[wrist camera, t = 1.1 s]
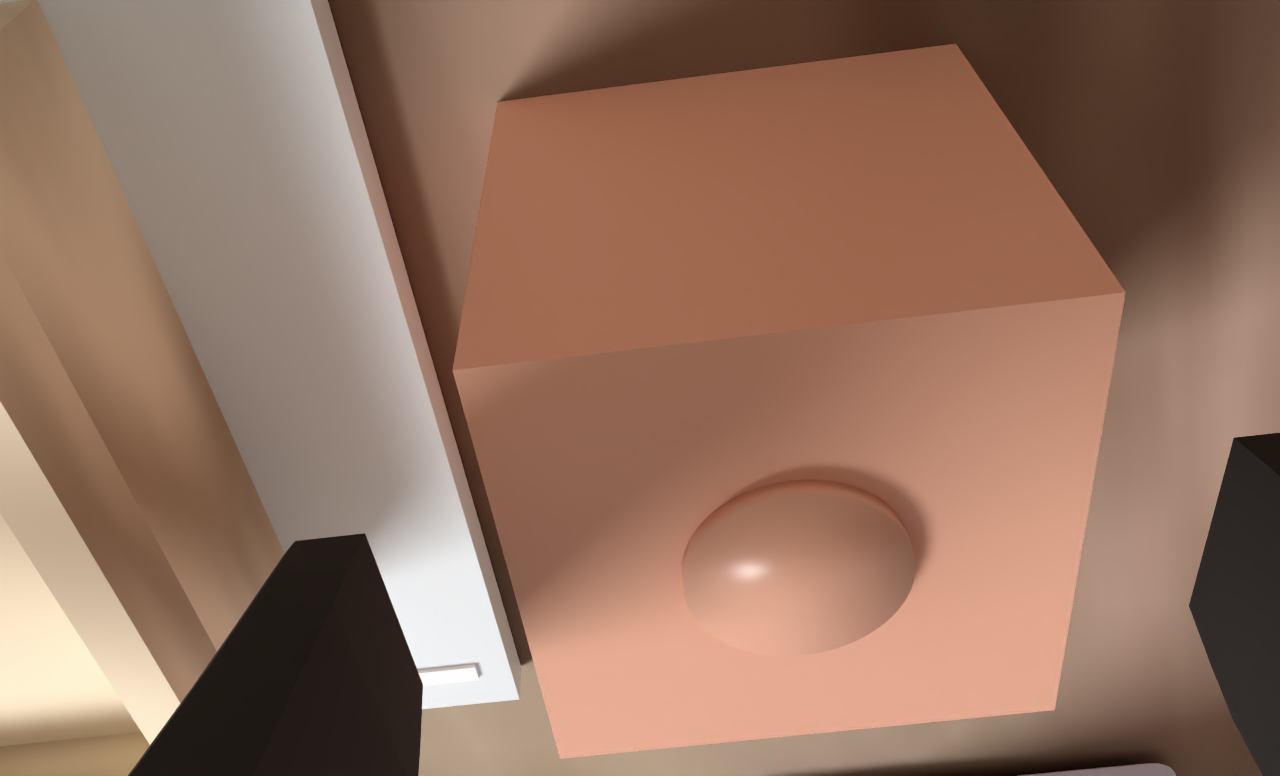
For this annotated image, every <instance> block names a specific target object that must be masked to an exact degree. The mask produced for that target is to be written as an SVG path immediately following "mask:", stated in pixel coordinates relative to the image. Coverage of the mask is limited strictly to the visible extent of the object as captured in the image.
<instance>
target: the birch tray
mask: <svg viewBox="0 0 1280 776" xmlns="http://www.w3.org/2000/svg"><path fill="white" fill-rule="evenodd" d="M284 554H285V553H284V551H283V549H282V546H281V544H280V542H279V540H278V537H277V535H276V533H275V531H274V528H273V526H272V524H271V522H270V520H269V517H268V515H267V513H266V511H265V508H264V506H263V504H262V502H261V499H260V497H259V495H258V493H257V490H256V488H255V486H254V484H253V481H252V479H251V477H250V475H249V473H248V470H247V468H246V466H245V464H244V461H243V459H242V457H241V455H240V452H239V450H238V448H237V446H236V443H235V441H234V439H233V437H232V434H231V432H230V430H229V428H228V426H227V423H226V421H225V419H224V417H223V414H222V412H221V410H220V408H219V405H218V403H217V401H216V399H215V396H214V394H213V392H212V390H211V387H210V385H209V383H208V381H207V379H206V376H205V374H204V372H203V370H202V367H201V365H200V363H199V361H198V358H197V356H196V354H195V352H194V349H193V347H192V345H191V343H190V340H189V338H188V336H187V334H186V332H185V329H184V327H183V325H182V323H181V320H180V318H179V316H178V314H177V311H176V309H175V307H174V305H173V302H172V300H171V298H170V296H169V294H168V291H167V289H166V287H165V285H164V282H163V280H162V278H161V276H160V273H159V271H158V269H157V267H156V264H155V262H154V260H153V258H152V255H151V253H150V251H149V249H148V247H147V244H146V242H145V240H144V238H143V235H142V233H141V231H140V229H139V226H138V224H137V222H136V220H135V217H134V215H133V213H132V211H131V208H130V206H129V204H128V202H127V200H126V197H125V195H124V193H123V191H122V188H121V186H120V184H119V182H118V179H117V177H116V175H115V173H114V170H113V168H112V166H111V164H110V161H109V159H108V157H107V155H106V153H105V150H104V148H103V146H102V144H101V141H100V139H99V137H98V135H97V132H96V130H95V128H94V126H93V123H92V121H91V119H90V117H89V115H88V112H87V110H86V108H85V106H84V103H83V101H82V99H81V97H80V94H79V92H78V90H77V88H76V85H75V83H74V81H73V79H72V76H71V74H70V72H69V70H68V68H67V65H66V63H65V61H64V59H63V56H62V54H61V52H60V50H59V47H58V45H57V43H56V41H55V38H54V36H53V34H52V32H51V29H50V27H49V25H48V23H47V21H46V18H45V16H44V14H43V12H42V9H41V7H40V5H39V3H38V0H22V1H15V2H7V3H0V776H128V774H129V773H130V772H131V771H132V769H133V768H134V767H135V765H136V764H137V762H138V761H139V760H140V758H141V757H142V756H143V754H144V753H145V751H146V750H147V749H148V747H149V746H150V745H151V743H152V742H153V740H154V739H155V738H156V736H157V735H158V734H159V732H160V731H161V729H162V728H163V727H164V725H165V724H166V723H167V721H168V720H169V719H170V717H171V716H172V714H173V713H174V712H175V710H176V709H177V708H178V706H179V705H180V703H181V702H182V701H183V699H184V698H185V697H186V695H187V694H188V692H189V691H190V690H191V688H192V687H193V685H194V684H195V683H196V681H197V680H198V678H199V677H200V675H201V674H202V673H203V671H204V670H205V668H206V667H207V665H208V664H209V663H210V661H211V660H212V658H213V657H214V655H215V654H216V653H217V651H218V650H219V648H220V647H221V645H222V644H223V642H224V641H225V640H226V638H227V637H228V635H229V634H230V632H231V631H232V629H233V628H234V627H235V625H236V624H237V622H238V621H239V619H240V618H241V616H242V615H243V613H244V612H245V610H246V609H247V608H248V606H249V605H250V603H251V602H252V600H253V599H254V597H255V596H256V594H257V593H258V591H259V590H260V589H261V587H262V586H263V584H264V583H265V581H266V580H267V578H268V577H269V575H270V574H271V573H272V571H273V570H274V568H275V567H276V565H277V564H278V563H279V561H280V560H281V558H282V557H283V555H284Z"/></svg>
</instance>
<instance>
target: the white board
mask: <svg viewBox="0 0 1280 776" xmlns="http://www.w3.org/2000/svg"><path fill="white" fill-rule="evenodd" d="M15 1H22V0H0V3H7V2H15ZM38 3H39V5H40V7H41V9H42V12H43V14H44V16H45V18H46V21H47V23H48V25H49V27H50V29H51V32H52V34H53V36H54V38H55V41H56V43H57V45H58V47H59V50H60V52H61V54H62V56H63V59H64V61H65V63H66V65H67V68H68V70H69V72H70V74H71V76H72V79H73V81H74V83H75V85H76V88H77V90H78V92H79V94H80V97H81V99H82V101H83V103H84V106H85V108H86V110H87V112H88V115H89V117H90V119H91V121H92V123H93V126H94V128H95V130H96V132H97V135H98V137H99V139H100V141H101V144H102V146H103V148H104V150H105V153H106V155H107V157H108V159H109V161H110V164H111V166H112V168H113V170H114V173H115V175H116V177H117V179H118V182H119V184H120V186H121V188H122V191H123V193H124V195H125V197H126V200H127V202H128V204H129V206H130V208H131V211H132V213H133V215H134V217H135V220H136V222H137V224H138V226H139V229H140V231H141V233H142V235H143V238H144V240H145V242H146V244H147V247H148V249H149V251H150V253H151V255H152V258H153V260H154V262H155V264H156V267H157V269H158V271H159V273H160V276H161V278H162V280H163V282H164V285H165V287H166V289H167V291H168V294H169V296H170V298H171V300H172V302H173V305H174V307H175V309H176V311H177V314H178V316H179V318H180V320H181V323H182V325H183V327H184V329H185V332H186V334H187V336H188V338H189V340H190V343H191V345H192V347H193V349H194V352H195V354H196V356H197V358H198V361H199V363H200V365H201V367H202V370H203V372H204V374H205V376H206V379H207V381H208V383H209V385H210V387H211V390H212V392H213V394H214V396H215V399H216V401H217V403H218V405H219V408H220V410H221V412H222V414H223V417H224V419H225V421H226V423H227V426H228V428H229V430H230V432H231V434H232V437H233V439H234V441H235V443H236V446H237V448H238V450H239V452H240V455H241V457H242V459H243V461H244V464H245V466H246V468H247V470H248V473H249V475H250V477H251V479H252V481H253V484H254V486H255V488H256V490H257V493H258V495H259V497H260V499H261V502H262V504H263V506H264V508H265V511H266V513H267V515H268V517H269V520H270V522H271V524H272V526H273V528H274V531H275V533H276V535H277V537H278V540H279V542H280V544H281V546H282V549H283V551H284V553H286V551H287V550H288V549H289V548H290V546H291V545H292V544H293V543H294V542H295V541H299V540H308V539H317V538H327V537H336V536H345V535H354V534H363V533H365V534H366V537H367V540H368V542H369V545H370V547H371V550H372V553H373V555H374V558H375V561H376V563H377V566H378V568H379V571H380V574H381V576H382V579H383V581H384V584H385V587H386V589H387V592H388V595H389V597H390V600H391V602H392V605H393V608H394V610H395V613H396V615H397V618H398V621H399V623H400V626H401V628H402V631H403V634H404V636H405V639H406V642H407V644H408V647H409V649H410V652H411V655H412V657H413V660H414V662H415V665H416V668H417V670H418V673H419V676H420V678H421V681H422V683H423V695H422V709H428V708H438V707H448V706H458V705H468V704H478V703H488V702H497V701H507V700H517V699H520V684H521V669H522V668H521V665H520V661H519V658H518V655H517V651H516V648H515V644H514V641H513V637H512V634H511V630H510V627H509V624H508V620H507V617H506V613H505V610H504V606H503V603H502V599H501V596H500V592H499V589H498V586H497V582H496V579H495V575H494V572H493V568H492V565H491V561H490V558H489V555H488V551H487V548H486V544H485V541H484V537H483V534H482V530H481V527H480V523H479V520H478V517H477V513H476V510H475V506H474V503H473V499H472V496H471V492H470V489H469V486H468V482H467V479H466V475H465V472H464V468H463V465H462V461H461V458H460V455H459V451H458V448H457V444H456V441H455V437H454V434H453V430H452V427H451V423H450V420H449V417H448V413H447V410H446V406H445V403H444V399H443V396H442V392H441V389H440V386H439V382H438V379H437V375H436V372H435V368H434V365H433V361H432V358H431V354H430V351H429V348H428V344H427V341H426V337H425V334H424V330H423V327H422V323H421V320H420V317H419V313H418V310H417V306H416V303H415V299H414V296H413V292H412V289H411V285H410V282H409V279H408V275H407V272H406V268H405V265H404V261H403V258H402V254H401V251H400V248H399V244H398V241H397V237H396V234H395V230H394V227H393V223H392V220H391V217H390V213H389V210H388V206H387V203H386V199H385V196H384V192H383V189H382V185H381V182H380V179H379V175H378V172H377V168H376V165H375V161H374V158H373V154H372V151H371V148H370V144H369V141H368V137H367V134H366V130H365V127H364V123H363V120H362V116H361V113H360V110H359V106H358V103H357V99H356V96H355V92H354V89H353V85H352V82H351V79H350V75H349V72H348V68H347V65H346V61H345V58H344V54H343V51H342V47H341V44H340V41H339V37H338V34H337V30H336V27H335V23H334V20H333V16H332V13H331V10H330V6H329V3H328V0H38Z"/></svg>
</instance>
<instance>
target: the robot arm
mask: <svg viewBox="0 0 1280 776" xmlns="http://www.w3.org/2000/svg"><path fill="white" fill-rule="evenodd" d="M1189 607H1190V610H1191V612H1192V615H1193V618H1194V620H1195V623H1196V626H1197V629H1198V631H1199V634H1200V637H1201V639H1202V642H1203V645H1204V647H1205V650H1206V653H1207V655H1208V658H1209V661H1210V663H1211V666H1212V669H1213V671H1214V674H1215V676H1216V679H1217V681H1218V683H1219V686H1220V688H1221V691H1222V693H1223V696H1224V698H1225V701H1226V703H1227V706H1228V708H1229V711H1230V713H1231V715H1232V718H1233V720H1234V722H1235V724H1236V726H1237V728H1238V729H1239V731H1240V733H1241V735H1242V737H1243V739H1244V741H1245V743H1246V745H1247V747H1248V748H1249V750H1250V752H1251V754H1252V756H1253V758H1254V760H1255V761H1256V763H1257V765H1258V767H1259V769H1260V771H1261V773H1262V774H1263V776H1280V433H1273V434H1264V435H1255V436H1246V437H1237V438H1234V439H1233V443H1232V447H1231V451H1230V454H1229V458H1228V462H1227V466H1226V469H1225V473H1224V477H1223V481H1222V484H1221V488H1220V492H1219V496H1218V499H1217V503H1216V507H1215V511H1214V514H1213V518H1212V522H1211V526H1210V529H1209V533H1208V537H1207V541H1206V544H1205V548H1204V552H1203V556H1202V559H1201V563H1200V567H1199V571H1198V574H1197V578H1196V582H1195V586H1194V589H1193V593H1192V597H1191V601H1190V604H1189ZM422 695H423V683H422V681H421V678H420V676H419V673H418V670H417V668H416V665H415V662H414V660H413V657H412V655H411V652H410V649H409V647H408V644H407V642H406V639H405V636H404V634H403V631H402V628H401V626H400V623H399V621H398V618H397V615H396V613H395V610H394V608H393V605H392V602H391V600H390V597H389V595H388V592H387V589H386V587H385V584H384V581H383V579H382V576H381V574H380V571H379V568H378V566H377V563H376V561H375V558H374V555H373V553H372V550H371V547H370V545H369V542H368V540H367V537H366V534H365V533H363V534H354V535H345V536H336V537H327V538H317V539H308V540H299V541H295V542H294V543H293V544H292V545H291V546H290V548H289V549H288V550H287V551H286V553H285V554H284V555H283V557H282V558H281V560H280V561H279V563H278V564H277V565H276V567H275V568H274V570H273V571H272V573H271V574H270V575H269V577H268V578H267V580H266V581H265V583H264V584H263V586H262V587H261V589H260V590H259V591H258V593H257V594H256V596H255V597H254V599H253V600H252V602H251V603H250V605H249V606H248V608H247V609H246V610H245V612H244V613H243V615H242V616H241V618H240V619H239V621H238V622H237V624H236V625H235V627H234V628H233V629H232V631H231V632H230V634H229V635H228V637H227V638H226V640H225V641H224V642H223V644H222V645H221V647H220V648H219V650H218V651H217V653H216V654H215V655H214V657H213V658H212V660H211V661H210V663H209V664H208V665H207V667H206V668H205V670H204V671H203V673H202V674H201V675H200V677H199V678H198V680H197V681H196V683H195V684H194V685H193V687H192V688H191V690H190V691H189V692H188V694H187V695H186V697H185V698H184V699H183V701H182V702H181V703H180V705H179V706H178V708H177V709H176V710H175V712H174V713H173V714H172V716H171V717H170V719H169V720H168V721H167V723H166V724H165V725H164V727H163V728H162V729H161V731H160V732H159V734H158V735H157V736H156V738H155V739H154V740H153V742H152V743H151V745H150V746H149V747H148V749H147V750H146V751H145V753H144V754H143V756H142V757H141V758H140V760H139V761H138V762H137V764H136V765H135V767H134V768H133V769H132V771H131V772H130V773H129V774H128V776H418V770H419V756H420V738H421V717H422ZM1019 776H1176V774H1175V772H1174V771H1173V770H1172V769H1171V768H1170V767H1169V766H1166V765H1163V764H1160V763H1145V764H1134V765H1124V766H1113V767H1103V768H1092V769H1082V770H1071V771H1061V772H1050V773H1040V774H1029V775H1019Z"/></svg>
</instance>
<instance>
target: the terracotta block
mask: <svg viewBox="0 0 1280 776" xmlns="http://www.w3.org/2000/svg"><path fill="white" fill-rule="evenodd" d="M1125 294H1126V292H1125V291H1124V289H1123V288H1122V286H1121V285H1120V283H1119V282H1118V280H1117V279H1116V277H1115V276H1114V275H1113V273H1112V272H1111V270H1110V269H1109V267H1108V266H1107V264H1106V263H1105V261H1104V260H1103V258H1102V257H1101V255H1100V254H1099V253H1098V251H1097V250H1096V248H1095V247H1094V245H1093V244H1092V242H1091V241H1090V239H1089V238H1088V236H1087V235H1086V233H1085V232H1084V231H1083V229H1082V228H1081V226H1080V225H1079V223H1078V222H1077V220H1076V219H1075V217H1074V216H1073V214H1072V213H1071V211H1070V210H1069V209H1068V207H1067V206H1066V204H1065V203H1064V201H1063V200H1062V198H1061V197H1060V195H1059V194H1058V192H1057V191H1056V189H1055V188H1054V187H1053V185H1052V184H1051V182H1050V181H1049V179H1048V178H1047V176H1046V175H1045V173H1044V172H1043V170H1042V169H1041V168H1040V166H1039V165H1038V163H1037V162H1036V160H1035V159H1034V157H1033V156H1032V154H1031V153H1030V151H1029V150H1028V148H1027V147H1026V146H1025V144H1024V143H1023V141H1022V140H1021V138H1020V137H1019V135H1018V134H1017V132H1016V131H1015V129H1014V128H1013V126H1012V125H1011V124H1010V122H1009V121H1008V119H1007V118H1006V116H1005V115H1004V113H1003V112H1002V110H1001V109H1000V107H999V106H998V104H997V103H996V102H995V100H994V99H993V97H992V96H991V94H990V93H989V91H988V90H987V88H986V87H985V85H984V84H983V82H982V81H981V80H980V78H979V77H978V75H977V74H976V72H975V71H974V69H973V68H972V66H971V65H970V63H969V62H968V61H967V59H966V58H965V56H964V55H963V53H962V52H961V50H960V49H959V47H958V46H957V44H949V45H941V46H934V47H926V48H918V49H910V50H902V51H894V52H886V53H878V54H870V55H863V56H855V57H847V58H839V59H831V60H823V61H815V62H807V63H799V64H792V65H784V66H776V67H768V68H760V69H752V70H744V71H736V72H728V73H720V74H713V75H705V76H697V77H689V78H681V79H673V80H665V81H657V82H649V83H642V84H634V85H626V86H618V87H610V88H602V89H594V90H586V91H578V92H571V93H563V94H555V95H547V96H539V97H531V98H523V99H515V100H507V101H500V102H498V103H497V109H496V114H495V120H494V126H493V132H492V138H491V144H490V150H489V156H488V162H487V168H486V174H485V180H484V186H483V192H482V198H481V204H480V210H479V216H478V222H477V227H476V233H475V239H474V245H473V251H472V257H471V263H470V269H469V275H468V281H467V287H466V293H465V299H464V305H463V311H462V317H461V323H460V329H459V334H458V340H457V346H456V352H455V358H454V364H453V374H454V378H455V381H456V385H457V388H458V392H459V396H460V399H461V403H462V406H463V410H464V414H465V417H466V421H467V424H468V428H469V432H470V435H471V439H472V442H473V446H474V450H475V453H476V457H477V460H478V464H479V468H480V471H481V475H482V478H483V482H484V486H485V489H486V493H487V496H488V500H489V504H490V507H491V511H492V515H493V518H494V522H495V525H496V529H497V533H498V536H499V540H500V543H501V547H502V551H503V554H504V558H505V561H506V565H507V569H508V572H509V576H510V579H511V583H512V587H513V590H514V594H515V597H516V601H517V605H518V608H519V612H520V615H521V619H522V623H523V626H524V630H525V633H526V637H527V641H528V644H529V648H530V651H531V655H532V659H533V662H534V666H535V669H536V673H537V677H538V680H539V684H540V687H541V691H542V695H543V698H544V702H545V706H546V709H547V713H548V716H549V720H550V724H551V727H552V731H553V734H554V738H555V742H556V745H557V749H558V752H559V756H560V759H561V758H572V757H582V756H592V755H602V754H612V753H623V752H633V751H643V750H653V749H663V748H673V747H684V746H694V745H704V744H714V743H724V742H735V741H745V740H755V739H765V738H775V737H785V736H796V735H806V734H816V733H826V732H836V731H847V730H857V729H867V728H877V727H887V726H897V725H908V724H918V723H928V722H938V721H948V720H959V719H969V718H979V717H989V716H999V715H1009V714H1020V713H1030V712H1040V711H1050V710H1055V705H1056V699H1057V693H1058V687H1059V681H1060V675H1061V669H1062V663H1063V658H1064V652H1065V646H1066V640H1067V634H1068V628H1069V622H1070V616H1071V611H1072V605H1073V599H1074V593H1075V587H1076V581H1077V575H1078V570H1079V564H1080V558H1081V552H1082V546H1083V540H1084V534H1085V528H1086V523H1087V517H1088V511H1089V505H1090V499H1091V493H1092V487H1093V481H1094V476H1095V470H1096V464H1097V458H1098V452H1099V446H1100V440H1101V434H1102V429H1103V423H1104V417H1105V411H1106V405H1107V399H1108V393H1109V388H1110V382H1111V376H1112V370H1113V364H1114V358H1115V352H1116V346H1117V341H1118V335H1119V329H1120V323H1121V317H1122V311H1123V305H1124V299H1125Z"/></svg>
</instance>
